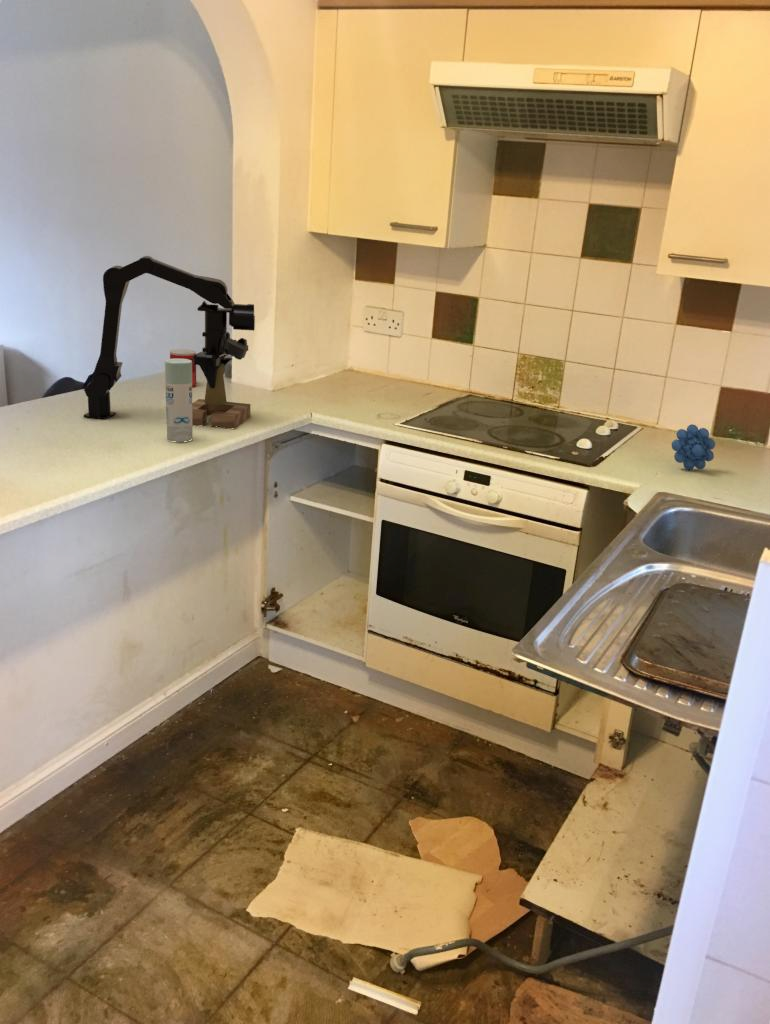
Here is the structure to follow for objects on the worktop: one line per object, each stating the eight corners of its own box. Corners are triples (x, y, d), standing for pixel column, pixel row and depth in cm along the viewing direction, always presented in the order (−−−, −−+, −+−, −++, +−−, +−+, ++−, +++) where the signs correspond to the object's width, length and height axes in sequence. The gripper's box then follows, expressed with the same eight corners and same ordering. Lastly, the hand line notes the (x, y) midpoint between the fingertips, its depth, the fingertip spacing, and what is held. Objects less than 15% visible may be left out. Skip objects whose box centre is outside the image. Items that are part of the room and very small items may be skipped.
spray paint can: (195, 442, 218) (194, 363, 211) (169, 443, 216) (167, 363, 209) (189, 435, 224) (188, 358, 217) (164, 436, 221) (162, 358, 214)
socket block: (234, 429, 232) (234, 416, 231) (180, 423, 234) (179, 410, 233) (250, 416, 246) (250, 404, 245) (199, 410, 248) (199, 398, 247)
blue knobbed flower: (673, 474, 219) (682, 428, 215) (663, 466, 226) (671, 421, 222) (717, 475, 221) (727, 430, 216) (706, 467, 227) (715, 423, 223)
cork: (203, 404, 235) (203, 364, 231) (204, 399, 240) (204, 359, 237) (226, 405, 236) (226, 365, 232) (226, 400, 241) (227, 360, 238)
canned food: (201, 386, 276) (200, 352, 273) (179, 389, 271) (179, 354, 267) (187, 382, 281) (186, 348, 277) (165, 384, 276) (165, 350, 272)
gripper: (234, 336, 222) (233, 396, 227) (255, 326, 239) (254, 382, 244) (192, 332, 223) (192, 392, 228) (216, 322, 240) (215, 378, 246)
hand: (215, 386), depth 237 cm, fingers closed on cork, 4 cm apart
